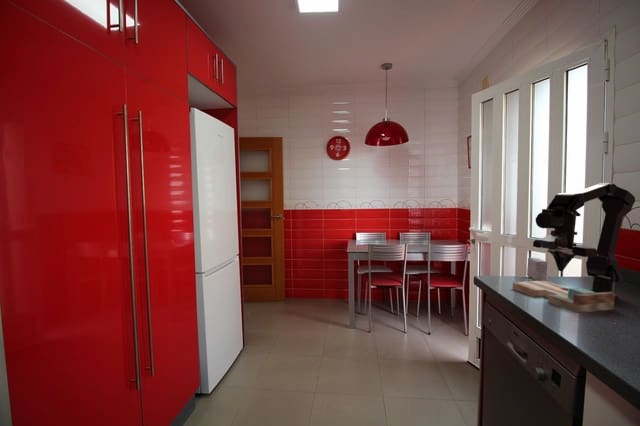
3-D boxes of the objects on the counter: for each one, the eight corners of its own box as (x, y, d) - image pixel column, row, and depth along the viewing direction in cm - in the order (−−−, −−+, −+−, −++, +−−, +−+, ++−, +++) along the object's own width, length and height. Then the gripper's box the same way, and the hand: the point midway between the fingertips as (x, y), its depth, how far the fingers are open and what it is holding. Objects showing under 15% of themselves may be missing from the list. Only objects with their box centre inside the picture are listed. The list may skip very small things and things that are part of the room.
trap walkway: (543, 286, 123) (544, 273, 123) (613, 309, 100) (615, 293, 99) (512, 288, 119) (513, 275, 119) (577, 312, 96) (578, 296, 96)
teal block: (579, 296, 105) (580, 287, 105) (595, 301, 100) (595, 292, 100) (567, 296, 104) (568, 288, 103) (583, 302, 99) (584, 293, 99)
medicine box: (546, 281, 130) (548, 262, 130) (534, 280, 131) (536, 261, 131) (537, 276, 138) (538, 258, 137) (526, 275, 139) (527, 257, 138)
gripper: (523, 225, 114) (519, 265, 116) (575, 232, 96) (570, 279, 98) (545, 225, 117) (542, 264, 118) (600, 232, 99) (596, 278, 100)
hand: (560, 271), depth 109 cm, fingers closed
